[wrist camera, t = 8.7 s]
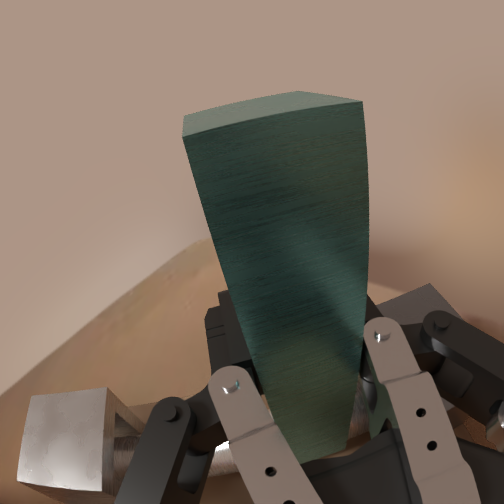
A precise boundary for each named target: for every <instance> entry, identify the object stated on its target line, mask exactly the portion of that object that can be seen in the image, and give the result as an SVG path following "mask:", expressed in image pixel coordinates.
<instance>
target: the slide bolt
mask: <svg viewBox="0 0 504 504" xmlns="http://www.w3.org/2000/svg"><path fill="white" fill-rule="evenodd" d="M182 138H183V142H184V145H185V149H186V152H187V156H188V159H189V163H190V166H191V170H192V173H193V177H194V180H195V183H196V187H197V190H198V194H199V197H200V200H201V204H202V207H203V210H204V213H205V217H206V220H207V223H208V227H209V230H210V233H211V236H212V240H213V243H214V246H215V249H216V252H217V256H218V259H219V262H220V265H221V268H222V271H223V274H224V277H225V281H226V284H227V287H228V290H229V293H230V296H231V299H232V302H233V305H234V308H235V311H236V314H237V317H238V320H239V323H240V326H241V329H242V332H243V335H244V338H245V341H246V344H247V346H248V349H249V352H250V355H251V358H252V361H253V364H254V367H255V369H256V372H257V375H258V378H259V381H260V383H261V386H262V389H263V392H264V395H265V397H266V400H267V403H268V406H269V408H270V409H268V411H269V413H270V415H271V417H272V419H273V420H274V422H275V423H276V424H277V426H278V427H279V429H280V431H281V433H282V434H283V436H284V438H285V440H286V441H287V443H288V445H289V447H290V449H291V450H292V452H293V454H294V455H295V457H296V459H297V461H298V462H299V464H302V463H305V462H308V461H311V460H315V459H319V458H321V457H324V456H327V455H330V454H333V453H336V452H338V451H341V450H344V449H345V448H346V443H347V440H348V439H350V438H353V437H355V436H358V435H360V434H363V433H365V432H367V431H369V417H368V413H367V409H366V406H365V402H364V398H363V395H362V391H361V387H360V384H359V380H358V375H359V368H360V360H361V352H362V343H363V334H364V324H365V312H366V299H367V282H368V259H369V258H368V257H369V184H368V162H367V146H366V134H365V121H364V112H363V102H362V101H359V100H354V99H348V98H343V97H337V96H330V95H324V94H317V93H310V92H302V91H295V92H289V93H283V94H277V95H271V96H266V97H261V98H255V99H251V100H246V101H241V102H237V103H233V104H228V105H224V106H220V107H215V108H212V109H208V110H204V111H200V112H196V113H193V114H189V115H186V116H184V121H183V135H182ZM140 437H141V435H133V436H122V437H114V479H116V480H118V481H120V482H122V481H123V479H124V476H125V474H126V471H127V469H128V466H129V464H130V462H131V459H132V457H133V454H134V452H135V449H136V447H137V444H138V442H139V440H140ZM228 442H229V441H227V442H225V443H223V444H222V445H220V446H218V447H216V450H215V453H214V457H213V460H212V463H211V467H210V470H209V473H208V477H213V476H219V475H225V474H230V473H236V472H239V470H238V467H237V465H236V463H235V461H234V458H233V456H232V454H231V451H230V449H229V445H228Z"/></svg>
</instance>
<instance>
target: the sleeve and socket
mask: <svg viewBox="0 0 504 504" xmlns="http://www.w3.org/2000/svg"><path fill="white" fill-rule="evenodd" d="M376 307H377V308H378V309H379V311H380V312H381V314H382V315H383V316H384V317H387V318H390V319H393V320H395V321H396V322H397V323H398V324H400V325H408V324H416V323H423V320H424V317H425V316H426V315H427V314H428V313H430V312H432V311H435V310H442V311H446V312H448V313H450V314H452V315H454V316H456V317H458V318H459V319H461V320H463V319H462V318H461V317H460V316H459V314H458V313H457V312H456V311H455V310H454V309H453V308H452V307H451V305H450V304H449V303H448V302H447V301H446V300H445V299H444V298H443V297H442V296H441V295H440V294H439V293H438V292H437V290H436V289H435V288H434V287H433V286H432V285H431V284H430V283H429V284H427V285H424V286H422V287H420V288H418V289H415V290H413V291H410V292H408V293H406V294H403V295H401V296H398V297H396V298H394V299H391V300H389V301H386V302H384V303H381V304H378V305H376ZM463 321H464V320H463ZM441 400H442V402H443V405H444V407H445V410H446V413H447V415H448V418H449V420H450V423H451V426H452V429H453V430H454V429H455V428H457V427H458V426H460V425H461V424H463V423H464V422H465V420H466V419H467V418H468V417H469V415H468V414H466V413H465V412H463V411H462V410H460V409H459V408H457V407H456V406H454V405H453V404H451V403H450V402H448V401H446V400H445V399H443V398H442V397H441ZM145 425H146V424H144V423H143V422H142V421H141V420H140V419H139V418H138V417H137V416H136V415H135V414H134V413H133V412H132V411H131V410H130V409H128V408H127V407H126V406H125V405H124V404H123V403H122V402H121V401H120V400H119V399H118V398H117V397H116V396H115V395H114V394H113V393H112V391H111V390H110V389H109V388H108V387H103V388H97V389H89V390H82V391H74V392H65V393H56V394H46V395H34V396H32V397H31V401H30V405H29V409H28V414H27V418H26V423H25V428H24V433H23V439H22V445H21V451H20V458H19V465H18V473H17V481H18V482H20V483H22V484H24V485H26V486H28V487H30V488H32V489H34V490H36V491H38V492H40V493H42V494H44V495H46V496H48V497H50V498H53V499H55V500H57V501H60V502H62V503H64V504H114V502H115V499H116V497H117V494H118V492H119V489H120V486H121V484H122V482H120V481H118V480H116V479H114V437H122V436H133V435H142V432H143V430H144V428H145Z"/></svg>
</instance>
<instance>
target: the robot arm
mask: <svg viewBox="0 0 504 504" xmlns="http://www.w3.org/2000/svg"><path fill="white" fill-rule="evenodd" d="M218 298H219V303H220V306H217V307H213V308H209V309H208V311H207V314H206V316H205V319H204V320H205V328H206V336H207V343H208V350H209V357H210V364H211V378H210V380H209V383H208V384H207V386H206V387H205V388H204V389H203V390H202V391H201V392H199V393H198V394H196V395H194V396H192V397H190V398H188V399H186V400H185V401H184V400H183V399H181V398H178V397H168V398H165V399H162V400H160V401H159V402H158V403H157V404H156V405H155V406H154V407H153V409H152V411H151V413H150V416H149V418H148V420H147V423H146V425H145V428H144V430H143V432H142V435H141V437H140V440H139V442H138V444H137V447H136V449H135V452H134V454H133V457H132V459H131V462H130V464H129V466H128V469H127V471H126V474H125V476H124V479H123V481H122V484H121V486H120V489H119V492H118V494H117V497H116V499H115V502H114V504H199V503H200V500H201V496H202V493H203V490H204V487H205V483H206V480H207V477H208V473H209V470H210V467H211V463H212V460H213V457H214V453H215V450H216V447H218V446H220V445H222V444H223V443H225V442H227V441H229V442H228V445H229V449H230V451H231V454H232V456H233V458H234V461H235V463H236V465H237V467H238V470H239V472H240V474H241V476H242V478H243V481H244V483H245V485H246V487H247V489H248V491H249V493H250V495H251V498H252V500H253V502H254V503H253V504H504V344H503V343H502V342H500V341H498V340H496V339H495V338H493V337H491V336H489V335H488V334H486V333H484V332H482V331H481V330H479V329H477V328H475V327H474V326H472V325H470V324H468V323H467V322H465V321H463V320H461V319H459V318H458V317H456V316H454V315H452V314H450V313H448V312H446V311H442V310H435V311H432V312H430V313H428V314H427V315H426V316H425V317H424V320H423V323H416V324H408V325H400V324H398V323H397V322H396V321H395V320H393V319H390V318H387V317H384V316H383V315H382V314H381V312H380V311H379V309H378V308H377V307H376V305H375V304H374V303H373V301H372V300H371V299H370V297H369V296H368V295H367V299H366V312H365V324H364V334H363V343H362V352H361V360H360V368H359V375H358V380H359V384H360V387H361V391H362V395H363V398H364V402H365V406H366V409H367V413H368V417H369V431H370V438H371V440H370V441H368V442H367V443H366V444H364V445H363V446H362V447H360V448H359V449H357V450H356V451H355V452H353V453H352V454H350V455H347V456H341V457H333V458H325V459H315V460H311V461H308V462H305V463H302V464H299V462H298V461H297V459H296V457H295V455H294V454H293V452H292V450H291V449H290V447H289V445H288V443H287V441H286V440H285V438H284V436H283V434H282V433H281V431H280V429H279V427H278V426H277V424H276V423H275V422H274V420H273V419H272V417H271V415H270V413H269V411H268V409H267V408H266V406H265V404H264V402H263V400H262V398H261V395H264V392H263V389H262V386H261V383H260V381H259V378H258V375H257V372H256V369H255V367H254V364H253V361H252V358H251V355H250V352H249V349H248V346H247V344H246V341H245V338H244V335H243V332H242V329H241V326H240V323H239V320H238V317H237V314H236V311H235V308H234V305H233V302H232V299H231V296H230V293H229V290H225V291H222V292H218ZM441 397H442V398H443V399H445V400H446V401H448V402H450V403H451V404H453V405H454V406H456V407H457V408H459V409H460V410H462V411H463V412H465V413H466V414H468V415H469V416H471V417H472V418H474V419H475V420H477V421H478V422H480V423H482V424H483V425H485V426H486V433H487V434H486V439H487V441H488V442H493V443H494V444H495V446H496V448H497V451H496V450H493V449H490V448H487V447H484V446H481V445H479V444H476V443H473V442H470V441H467V440H465V439H462V438H459V437H457V436H455V434H454V431H453V429H452V426H451V423H450V420H449V418H448V415H447V413H446V410H445V407H444V405H443V402H442V400H441Z"/></svg>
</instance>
